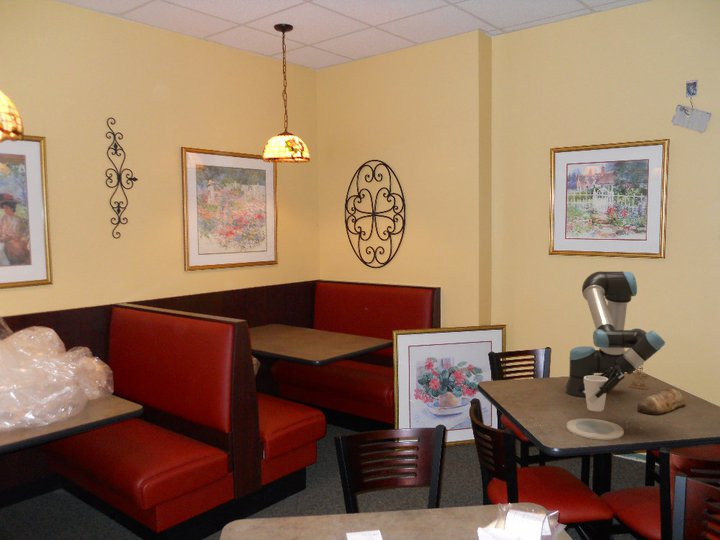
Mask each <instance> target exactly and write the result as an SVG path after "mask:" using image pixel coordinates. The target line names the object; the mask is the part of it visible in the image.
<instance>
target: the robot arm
mask: <svg viewBox="0 0 720 540" xmlns="http://www.w3.org/2000/svg"><path fill="white" fill-rule="evenodd" d="M581 287H582V288H581V292H582V296H583V298H584V300H585V301H586V302H587V305H588V308H589V312H590V314H591V317H592V320H593V325H594V327H595V330H594V331H593V334H592V339H593V345H594V346H595V347H596V348H599V349H595V347H593V346H587V345H584V346H582V345H580V346H575V347H574V348H572V349H571V350H570V351H569V358H568V360H569V378H568V380H567V383H566V386H565V393H566V394H568V395H570V396H574V397H578V398H586V394H585V386H584V377H585V376H591V375H594V376H595V374H599V376H602V377H606V378H608V380H607V381H606V382H605V384H604V385H603V386H602V387H599V389H598V390H597V391H595V392H594V393H593V394H592V395H591V396H590V397H588V398H587V399H588V400H589V401H590V402H591V403H592V404H593V403H594V402H595V401H596V400H598V399H599V398H600V397H601V396H602V395H603V394H605V393H606V395H608V394H610V392H611V391H612V390H613V389H614V388H615V387H617V385H618V384H619V383H620V382H621V381H623V380H624V378H625V377H626V376H625V374H627V375H631V374H633V373H634V372H635V371H636V370H635V367H636V369H637V368H640V367H641V366H644V363H645V362H646V361H647V360H649V359H650V358H651V357H652V356H654V355H655V354H656V353H657V352H658V351H660V350H661V349H662V348H663V347H664V346H665V344H666V341H665V340H664V339H663V337H661V336H660V335H659V334H658V333H657V332H656V331H654V330H649V331H648V332H646V331H645V330H643V329H641V328H636V327H634V328H632V329H625V325H626V324H625V323H626V314H627V307H628V303H630V302H631V301H632V297H636V296H637V293H638V285H637V279H636V277H635V275H634V273H633V272H632V271H624V270H621V271H600V270H599V271H595V272H593V273H591V274H590V275H588V276H587V277H586V279H585V280H584V281H583V283H582V286H581ZM625 349H627V350H625ZM632 372H633V373H632Z"/></svg>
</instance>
